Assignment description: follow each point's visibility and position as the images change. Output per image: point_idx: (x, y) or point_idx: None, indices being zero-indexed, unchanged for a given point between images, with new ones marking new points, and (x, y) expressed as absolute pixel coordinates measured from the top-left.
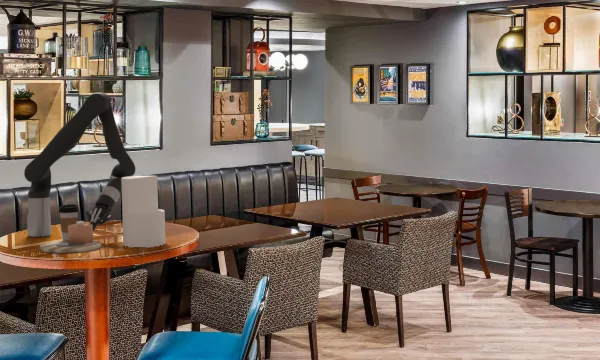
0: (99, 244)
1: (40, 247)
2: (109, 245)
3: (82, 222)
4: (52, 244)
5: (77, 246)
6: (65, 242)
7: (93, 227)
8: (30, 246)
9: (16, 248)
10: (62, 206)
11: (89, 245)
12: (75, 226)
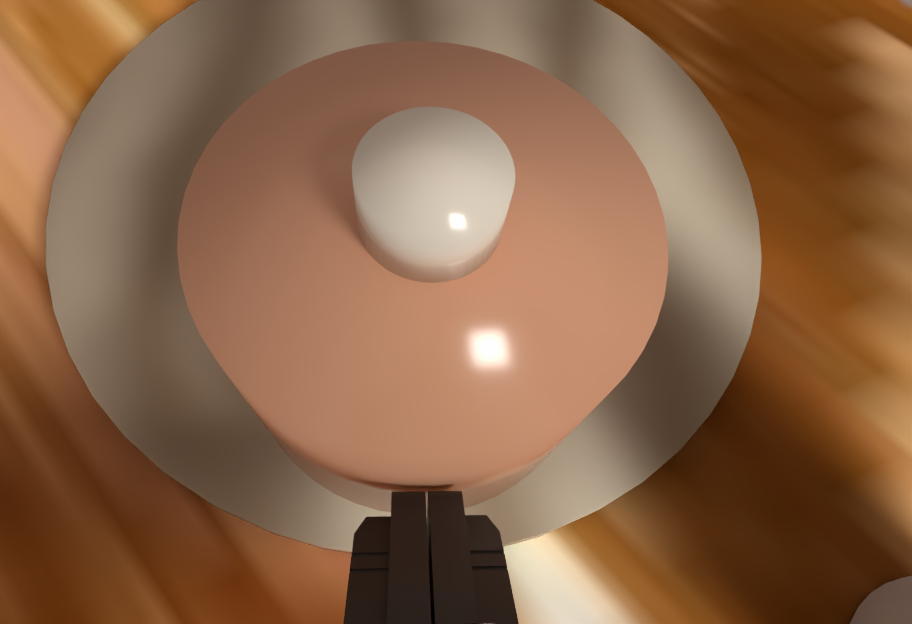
0: (51, 297)
1: (591, 4)
2: (42, 547)
3: (354, 165)
4: None
5: None
6: None
7: (353, 563)
8: (868, 150)
9: (866, 46)
10: None
11: (149, 202)
12: (421, 104)
